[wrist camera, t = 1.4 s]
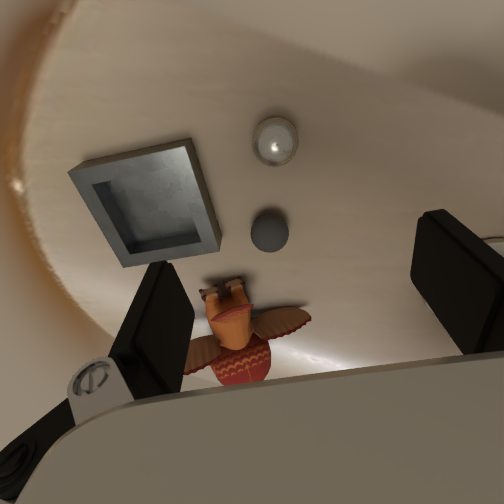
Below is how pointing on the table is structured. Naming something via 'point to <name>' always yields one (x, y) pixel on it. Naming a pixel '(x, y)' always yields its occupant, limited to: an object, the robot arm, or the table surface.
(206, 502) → the robot arm
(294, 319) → the figurine
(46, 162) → the table surface
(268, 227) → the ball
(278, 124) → the steel ball
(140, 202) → the square metal tray
